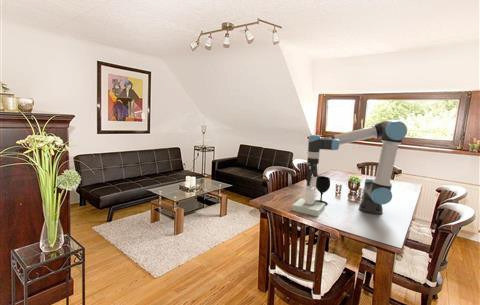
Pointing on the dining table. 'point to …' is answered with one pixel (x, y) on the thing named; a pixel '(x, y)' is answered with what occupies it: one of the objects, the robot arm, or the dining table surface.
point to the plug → (310, 197)
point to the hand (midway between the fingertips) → (311, 188)
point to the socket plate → (308, 207)
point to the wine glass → (322, 186)
